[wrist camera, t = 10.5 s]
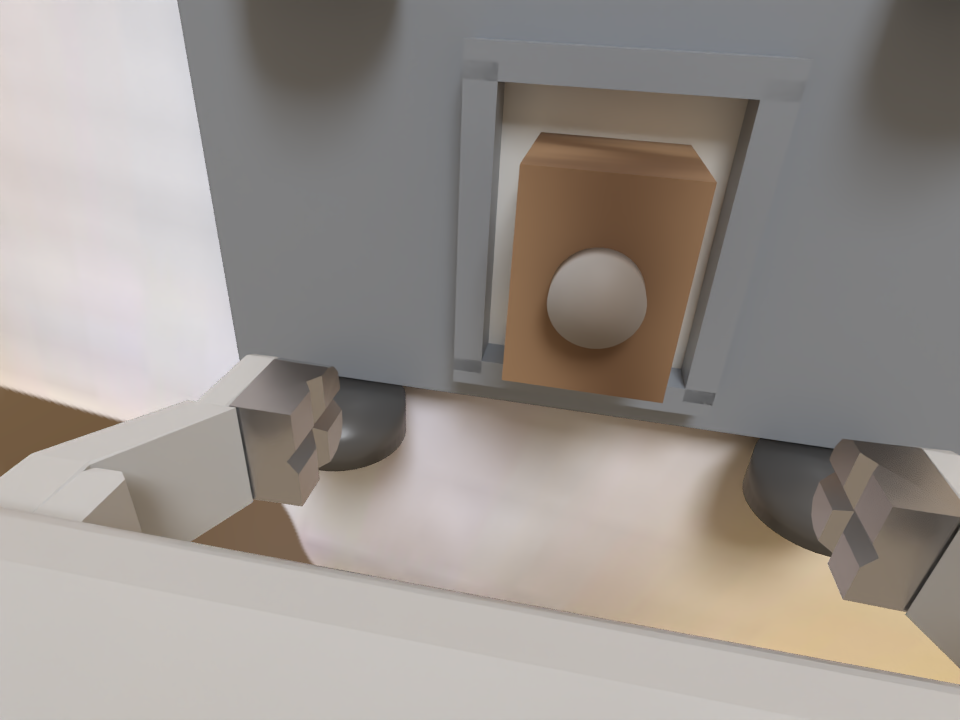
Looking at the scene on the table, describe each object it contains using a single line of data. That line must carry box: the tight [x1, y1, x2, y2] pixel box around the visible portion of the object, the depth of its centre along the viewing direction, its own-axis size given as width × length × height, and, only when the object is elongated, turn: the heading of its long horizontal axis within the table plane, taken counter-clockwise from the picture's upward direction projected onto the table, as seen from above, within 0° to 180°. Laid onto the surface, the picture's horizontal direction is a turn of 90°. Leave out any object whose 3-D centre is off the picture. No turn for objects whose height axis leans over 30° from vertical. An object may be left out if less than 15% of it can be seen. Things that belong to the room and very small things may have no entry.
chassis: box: [177, 0, 960, 557], centre depth 19 cm, size 28×17×5 cm, turn 87°
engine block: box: [502, 132, 717, 403], centre depth 17 cm, size 4×6×6 cm
